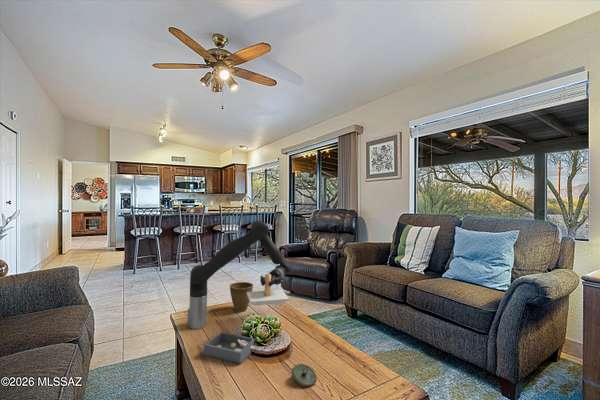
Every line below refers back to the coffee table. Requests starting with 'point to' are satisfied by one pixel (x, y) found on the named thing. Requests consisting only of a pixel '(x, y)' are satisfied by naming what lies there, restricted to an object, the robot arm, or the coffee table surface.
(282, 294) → the tub lid
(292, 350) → the coffee table surface
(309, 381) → the lid
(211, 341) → the parts tub
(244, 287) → the plant pot
